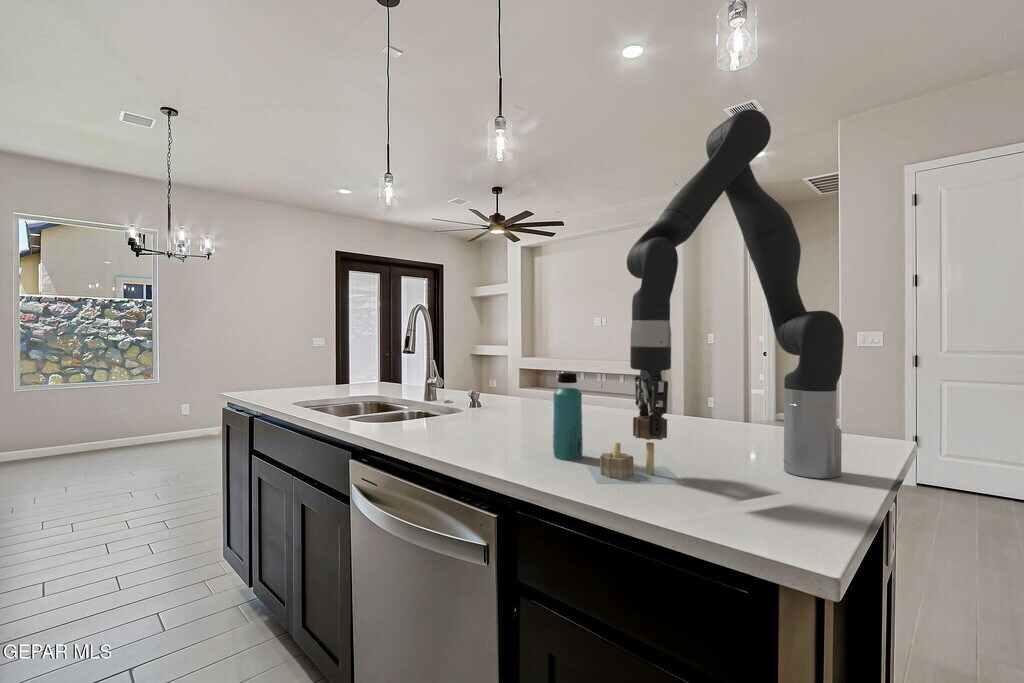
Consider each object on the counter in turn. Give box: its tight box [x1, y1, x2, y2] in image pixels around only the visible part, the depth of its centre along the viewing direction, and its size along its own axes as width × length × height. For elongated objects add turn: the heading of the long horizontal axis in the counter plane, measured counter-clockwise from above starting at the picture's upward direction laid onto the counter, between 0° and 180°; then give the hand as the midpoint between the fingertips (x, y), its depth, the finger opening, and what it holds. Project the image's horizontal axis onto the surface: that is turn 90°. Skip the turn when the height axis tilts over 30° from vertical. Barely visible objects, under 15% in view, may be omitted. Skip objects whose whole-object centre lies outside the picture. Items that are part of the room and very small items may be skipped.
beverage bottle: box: [552, 372, 584, 461], centre depth 107 cm, size 6×7×20 cm
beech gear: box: [599, 451, 634, 479], centre depth 93 cm, size 6×6×4 cm
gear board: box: [586, 441, 687, 485], centre depth 93 cm, size 16×12×8 cm
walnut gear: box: [632, 415, 668, 441], centre depth 93 cm, size 6×6×4 cm
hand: (650, 432), depth 93 cm, fingers closed on walnut gear, 6 cm apart
